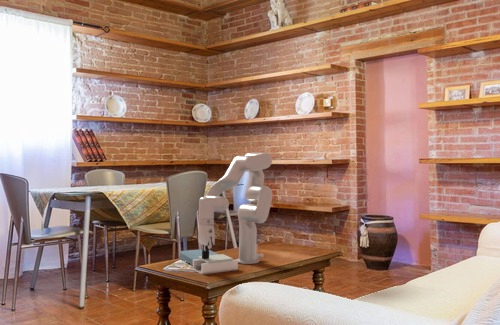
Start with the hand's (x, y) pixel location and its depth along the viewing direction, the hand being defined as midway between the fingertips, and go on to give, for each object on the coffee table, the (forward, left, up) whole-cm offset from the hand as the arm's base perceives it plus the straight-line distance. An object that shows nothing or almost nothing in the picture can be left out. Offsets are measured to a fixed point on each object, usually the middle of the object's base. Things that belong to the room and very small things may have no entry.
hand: (205, 258), depth 238 cm
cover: (-6, 0, -1) cm, 6 cm away
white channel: (-6, 0, -6) cm, 8 cm away
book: (-7, -19, -7) cm, 22 cm away
